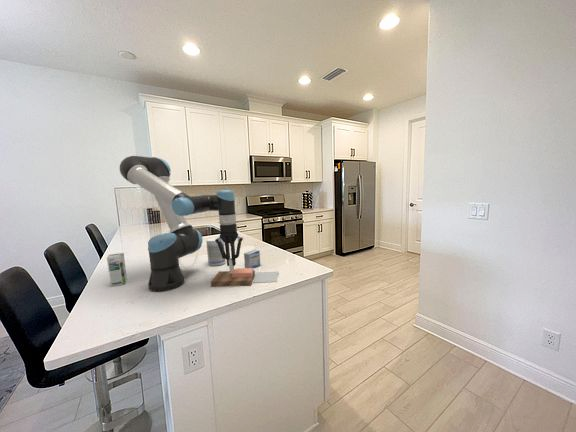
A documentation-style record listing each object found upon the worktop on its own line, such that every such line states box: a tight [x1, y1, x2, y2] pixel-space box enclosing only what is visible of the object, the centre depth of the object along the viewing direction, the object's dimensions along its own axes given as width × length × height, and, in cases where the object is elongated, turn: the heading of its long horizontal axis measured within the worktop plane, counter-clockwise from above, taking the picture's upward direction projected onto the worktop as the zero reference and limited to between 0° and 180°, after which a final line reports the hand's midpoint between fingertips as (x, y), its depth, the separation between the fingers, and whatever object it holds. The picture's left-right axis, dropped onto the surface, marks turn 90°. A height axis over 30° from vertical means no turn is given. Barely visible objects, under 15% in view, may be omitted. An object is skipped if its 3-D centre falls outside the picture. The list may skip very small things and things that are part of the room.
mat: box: [252, 271, 279, 284], centre depth 114 cm, size 11×12×1 cm
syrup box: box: [106, 252, 128, 287], centre depth 112 cm, size 6×6×14 cm
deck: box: [210, 269, 256, 288], centre depth 111 cm, size 18×12×2 cm, turn 89°
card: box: [232, 267, 254, 277], centre depth 112 cm, size 9×6×2 cm, turn 89°
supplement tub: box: [206, 236, 226, 267], centre depth 135 cm, size 10×10×15 cm
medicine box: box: [243, 249, 261, 269], centre depth 129 cm, size 8×4×9 cm, turn 143°
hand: (232, 272), depth 112 cm, fingers closed
